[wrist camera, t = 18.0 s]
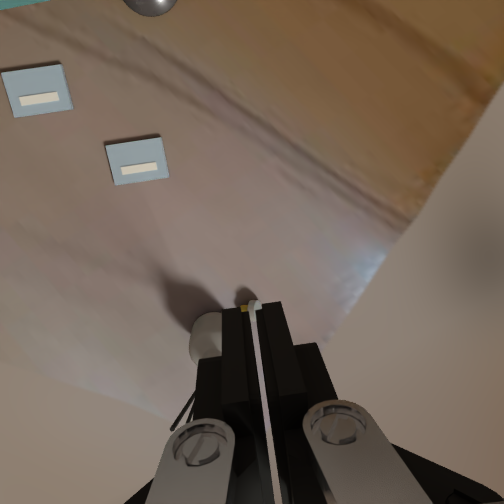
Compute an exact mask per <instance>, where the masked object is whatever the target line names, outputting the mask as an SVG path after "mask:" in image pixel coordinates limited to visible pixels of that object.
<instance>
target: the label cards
mask: <svg viewBox="0 0 504 504" xmlns="http://www.w3.org/2000/svg"><path fill="white" fill-rule="evenodd" d="M1 75H2V78H3V81H4V85H5V88H6V91H7V94H8V98H9V101H10V104H11V107H12V111H13V114H14V117H15V118H18V117H24V116H31V115H38V114H45V113H52V112H58V111H65V110H72V109H74V107H73V103H72V100H71V96H70V92H69V88H68V84H67V81H66V77H65V73H64V69H63V65H61V64H59V65H52V66H45V67H38V68H31V69H24V70H18V71H11V72H4V73H1ZM106 150H107V154H108V158H109V162H110V167H111V171H112V175H113V179H114V183H115V185H122V184H128V183H135V182H141V181H148V180H155V179H161V178H168V177H170V176H169V171H168V166H167V161H166V157H165V152H164V147H163V142H162V137H159V138H152V139H146V140H139V141H132V142H126V143H119V144H112V145H106Z"/></svg>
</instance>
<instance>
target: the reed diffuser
mask: <svg viewBox="0 0 504 504" xmlns="http://www.w3.org/2000/svg"><path fill="white" fill-rule="evenodd" d="M240 307H241V311H242V312H244V311H249V315H250V321H256V314H255V310H258V309H261V304H260V301H259V300H250V301H249V303H248V305H241V306H240ZM189 353H190V356H191V359H192V360H193V362H194V363H195V364H196V365H197V366H198V361H199V359H202V358H209V357H216V356H222V313H218V312H211V313H206V314H204V315H202V316H200V317H199V318H198V319H197V320H196V321H195V323H194V325H193V328H192V331H191V336H190V341H189ZM194 398H195V391H194V393H193V394H192V396H191V397H190V399H189V400H188V402H187V404H186V405H185V407H184V408H183V410H182V411H181V413H180V414H179V416H178V417H177V419H176V420H175V422H174V423H173V425H172V426H171V428H170V431H174V430H175V428H176V426H177V425H178V423H179V422H180V420H181V419H182V417H183V415H184V414H185V412H186V411H187V409H188V408H189V406H190V404H191V403H192V401H193V400H194ZM194 401H195V400H194ZM193 412H194V403H193V405H192V408H191V411H190V413H189V416H188V419H187V421H186V423H189V422H190V420H191V418H192V415H193Z"/></svg>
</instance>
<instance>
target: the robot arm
mask: <svg viewBox="0 0 504 504" xmlns="http://www.w3.org/2000/svg"><path fill="white" fill-rule="evenodd" d="M255 314H256V322H257V329H258V336H259V344H260V351H261V359H262V366H263V373H264V381H265V388H266V396H267V402H268V409H269V416H270V423H271V429H272V436H273V442H274V450H275V456H276V463H277V469H278V477H279V483H280V490H281V497H282V503H283V504H504V498H502V497H501V496H500V495H498V494H497V493H496V492H494V491H493V490H491V489H489V488H488V487H486V486H484V485H482V484H480V483H478V482H475V481H473V480H471V479H469V478H467V477H465V476H462V475H460V474H458V473H456V472H453V471H451V470H449V469H447V468H445V467H443V466H440V465H438V464H436V463H434V462H431V461H429V460H427V459H425V458H422V457H420V456H418V455H416V454H414V453H412V452H409V451H407V450H405V449H403V448H400V447H398V446H396V445H394V444H391V443H390V442H389V441H388V439H387V438H386V436H385V435H384V433H383V432H382V431H381V429H380V428H379V426H378V425H377V423H376V422H375V421H374V419H373V418H372V416H371V415H370V414H369V413H368V412H367V411H366V410H365V409H364V408H363V407H361V406H359V405H357V404H356V403H353V402H349V401H346V400H338V397H337V395H336V392H335V389H334V387H333V384H332V382H331V379H330V377H329V374H328V371H327V369H326V366H325V364H324V361H323V358H322V356H321V353H320V351H319V348H318V346H317V344H316V343H315V342H314V343H307V344H300V345H293V342H292V339H291V335H290V332H289V328H288V325H287V321H286V318H285V315H284V311H283V308H282V304H281V301H279V302H272V303H265V304H262V309H258V310H255ZM124 504H275V501H274V494H273V486H272V479H271V470H270V463H269V455H268V448H267V440H266V432H265V424H264V416H263V409H262V401H261V394H260V386H259V379H258V372H257V365H256V358H255V351H254V344H253V336H252V329H251V322H250V315H249V311H244V312H242V311H241V307H237V308H229V309H222V356H216V357H209V358H202V359H199V361H198V369H197V380H196V390H195V401H194V412H193V421H192V422H189V423H186V424H185V425H183V426H182V427H180V428H179V429H177V430H176V431H175V432H174V433H173V434H172V435H171V436H170V438H169V440H168V442H167V444H166V445H165V448H164V451H163V454H162V457H161V460H160V462H159V465H158V468H157V471H156V474H155V477H154V478H153V479H152V480H151V481H150V482H148V483H147V484H146V485H145V486H144V487H143V488H141V489H140V490H139V491H138V492H137V493H136V494H134V495H133V496H132V497H131V498H130V499H129V500H128V501H126V502H125V503H124Z"/></svg>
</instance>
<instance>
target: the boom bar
mask: <svg viewBox="0 0 504 504" xmlns="http://www.w3.org/2000/svg"><path fill="white" fill-rule="evenodd" d="M43 1H49V0H0V10H3V9H8V8H13V7H18V6H23V5H28V4H33V3H38V2H43Z"/></svg>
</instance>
